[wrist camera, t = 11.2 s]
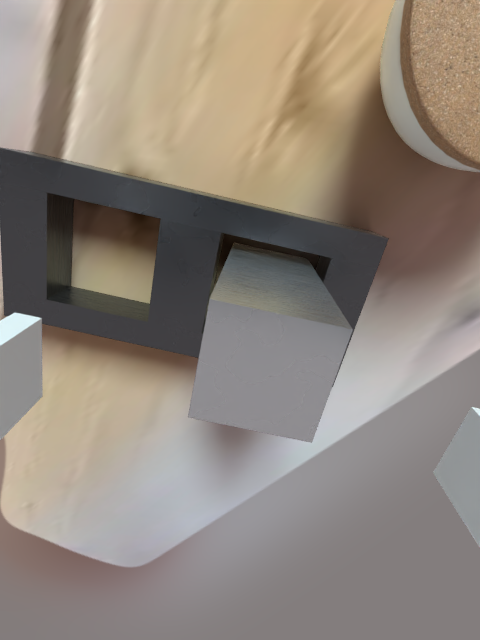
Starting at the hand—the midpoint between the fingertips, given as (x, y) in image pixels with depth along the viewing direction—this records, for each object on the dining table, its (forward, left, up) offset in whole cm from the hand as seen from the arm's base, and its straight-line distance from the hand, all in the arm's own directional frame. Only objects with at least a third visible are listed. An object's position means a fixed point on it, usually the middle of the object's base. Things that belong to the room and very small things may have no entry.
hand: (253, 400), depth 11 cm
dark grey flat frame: (-5, 0, -14) cm, 15 cm away
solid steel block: (0, 0, -14) cm, 14 cm away
